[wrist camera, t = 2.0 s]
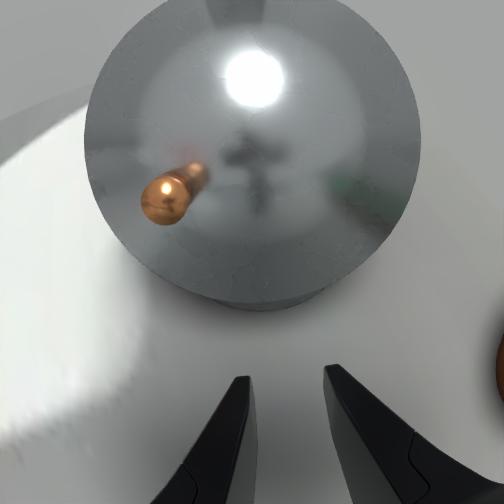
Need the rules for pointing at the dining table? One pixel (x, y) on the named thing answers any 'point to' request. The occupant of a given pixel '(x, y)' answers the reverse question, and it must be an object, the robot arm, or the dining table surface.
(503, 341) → the food container
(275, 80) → the cooker lid
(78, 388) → the dining table surface
